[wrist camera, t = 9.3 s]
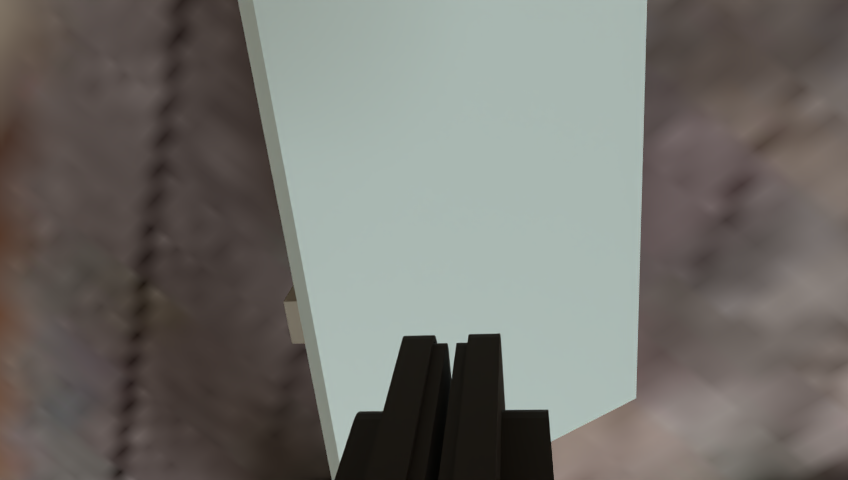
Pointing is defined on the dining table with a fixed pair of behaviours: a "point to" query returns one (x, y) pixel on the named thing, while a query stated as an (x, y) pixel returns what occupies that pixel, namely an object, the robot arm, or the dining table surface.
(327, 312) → the lid
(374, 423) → the robot arm
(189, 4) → the dining table surface
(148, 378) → the dining table surface
